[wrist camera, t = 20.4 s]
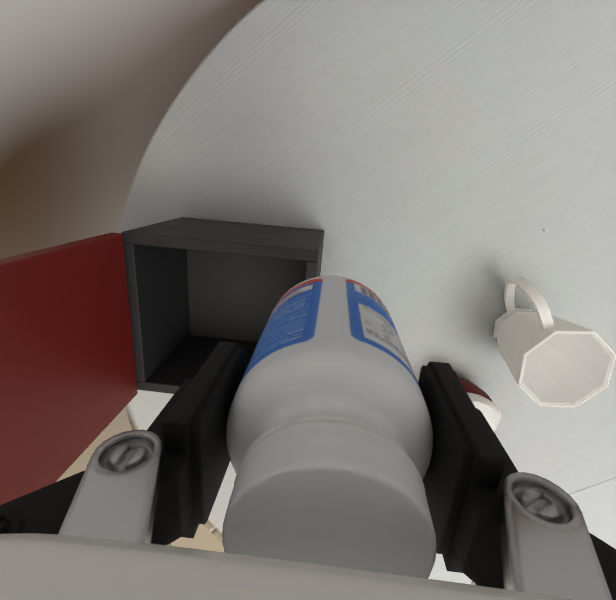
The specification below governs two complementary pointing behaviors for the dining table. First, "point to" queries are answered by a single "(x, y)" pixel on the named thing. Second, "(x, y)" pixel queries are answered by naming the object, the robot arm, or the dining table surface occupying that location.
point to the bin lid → (61, 357)
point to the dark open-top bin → (207, 290)
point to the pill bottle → (331, 438)
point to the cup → (551, 352)
